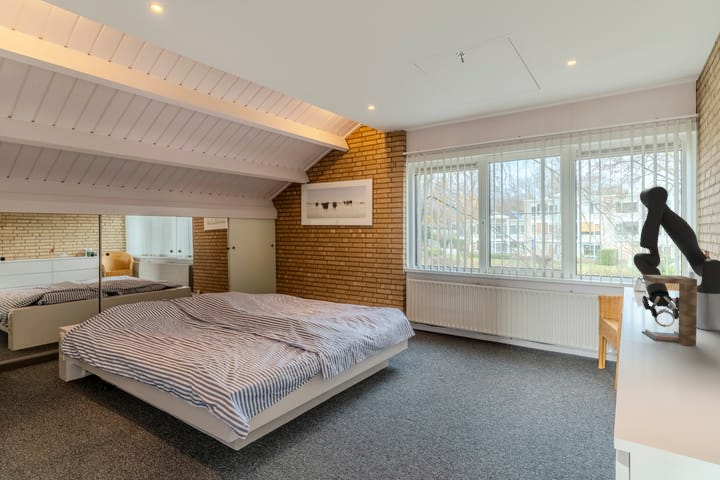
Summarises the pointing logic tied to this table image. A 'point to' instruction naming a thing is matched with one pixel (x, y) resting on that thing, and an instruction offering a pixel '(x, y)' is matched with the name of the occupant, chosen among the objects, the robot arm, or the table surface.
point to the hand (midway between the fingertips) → (666, 317)
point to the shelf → (683, 305)
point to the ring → (665, 312)
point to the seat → (662, 336)
